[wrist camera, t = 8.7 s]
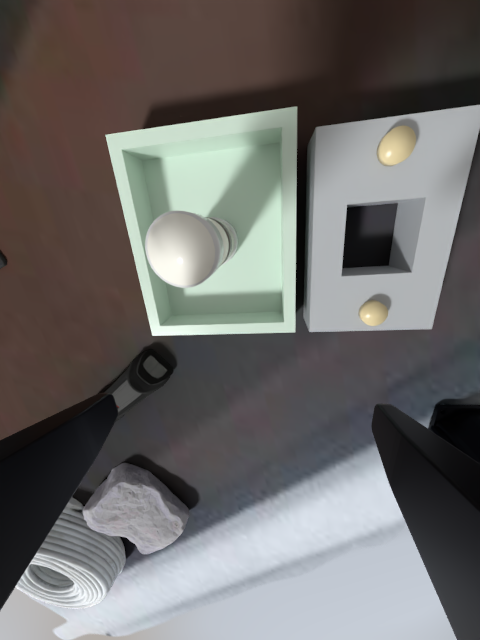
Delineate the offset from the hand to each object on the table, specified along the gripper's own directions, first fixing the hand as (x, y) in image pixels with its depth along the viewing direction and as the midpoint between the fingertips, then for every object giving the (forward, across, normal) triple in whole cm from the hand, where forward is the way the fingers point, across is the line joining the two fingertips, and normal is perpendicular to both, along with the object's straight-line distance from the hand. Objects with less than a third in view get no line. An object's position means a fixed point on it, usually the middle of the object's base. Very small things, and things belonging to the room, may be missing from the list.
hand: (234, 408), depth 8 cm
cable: (+13, +30, +38) cm, 50 cm away
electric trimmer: (+13, +15, +10) cm, 22 cm away
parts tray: (+12, +3, -5) cm, 14 cm away
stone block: (+13, +16, +26) cm, 33 cm away
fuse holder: (+13, -8, -5) cm, 15 cm away
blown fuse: (+12, +3, -5) cm, 13 cm away
